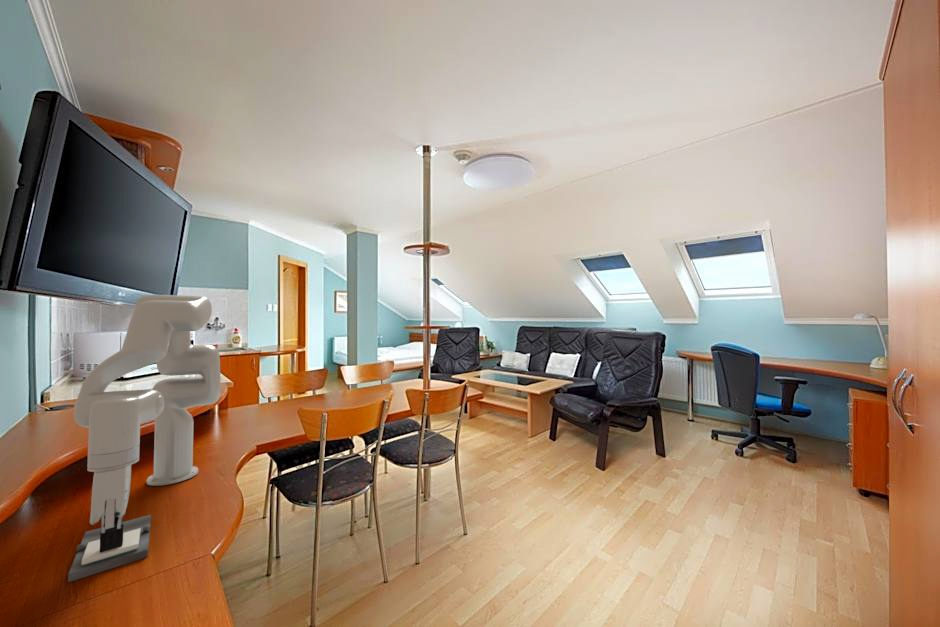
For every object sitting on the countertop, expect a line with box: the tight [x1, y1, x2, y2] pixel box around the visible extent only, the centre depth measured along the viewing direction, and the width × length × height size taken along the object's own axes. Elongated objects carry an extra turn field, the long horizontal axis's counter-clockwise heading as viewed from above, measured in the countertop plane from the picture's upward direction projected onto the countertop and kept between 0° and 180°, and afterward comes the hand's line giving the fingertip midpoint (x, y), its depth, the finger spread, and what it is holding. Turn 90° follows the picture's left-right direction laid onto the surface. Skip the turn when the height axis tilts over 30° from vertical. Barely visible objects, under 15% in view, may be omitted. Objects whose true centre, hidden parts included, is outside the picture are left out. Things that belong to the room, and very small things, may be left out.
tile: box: [81, 528, 141, 566], centre depth 73 cm, size 8×8×1 cm
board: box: [67, 514, 152, 583], centre depth 76 cm, size 18×11×3 cm, turn 41°
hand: (111, 548), depth 71 cm, fingers closed
